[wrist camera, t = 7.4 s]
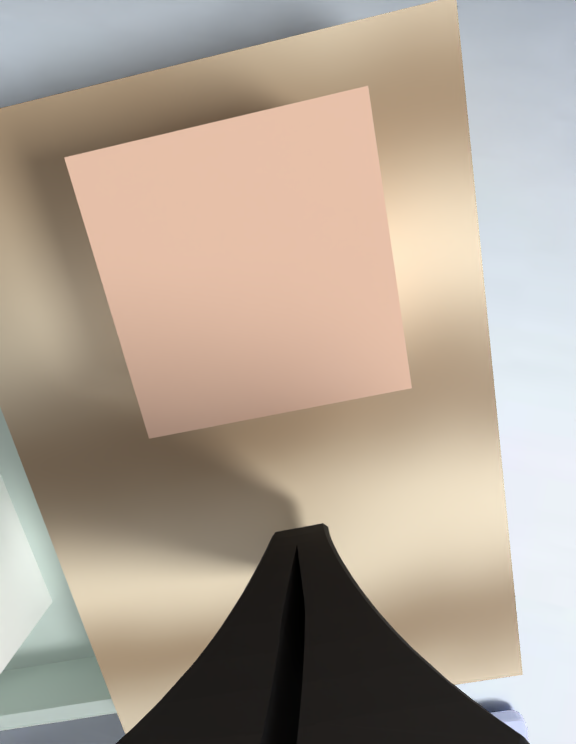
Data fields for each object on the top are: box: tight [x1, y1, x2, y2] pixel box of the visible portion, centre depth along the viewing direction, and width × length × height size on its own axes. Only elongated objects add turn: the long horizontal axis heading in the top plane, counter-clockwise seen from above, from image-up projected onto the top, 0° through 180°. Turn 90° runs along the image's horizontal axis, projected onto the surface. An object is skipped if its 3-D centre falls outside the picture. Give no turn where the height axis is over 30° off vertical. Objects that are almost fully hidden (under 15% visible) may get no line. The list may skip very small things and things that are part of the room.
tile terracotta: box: [64, 86, 412, 439], centre depth 9 cm, size 5×5×2 cm
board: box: [0, 0, 523, 734], centre depth 12 cm, size 17×12×3 cm
